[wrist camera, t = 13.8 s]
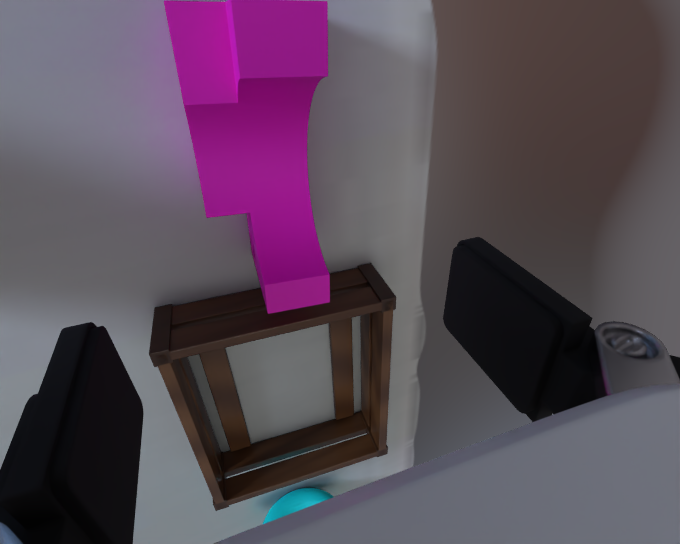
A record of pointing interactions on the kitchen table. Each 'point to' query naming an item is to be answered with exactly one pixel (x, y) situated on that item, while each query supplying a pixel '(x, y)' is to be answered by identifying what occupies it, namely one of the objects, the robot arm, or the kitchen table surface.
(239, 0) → the magenta cradle bracket
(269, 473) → the crate
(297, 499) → the donuts
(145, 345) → the kitchen table surface
